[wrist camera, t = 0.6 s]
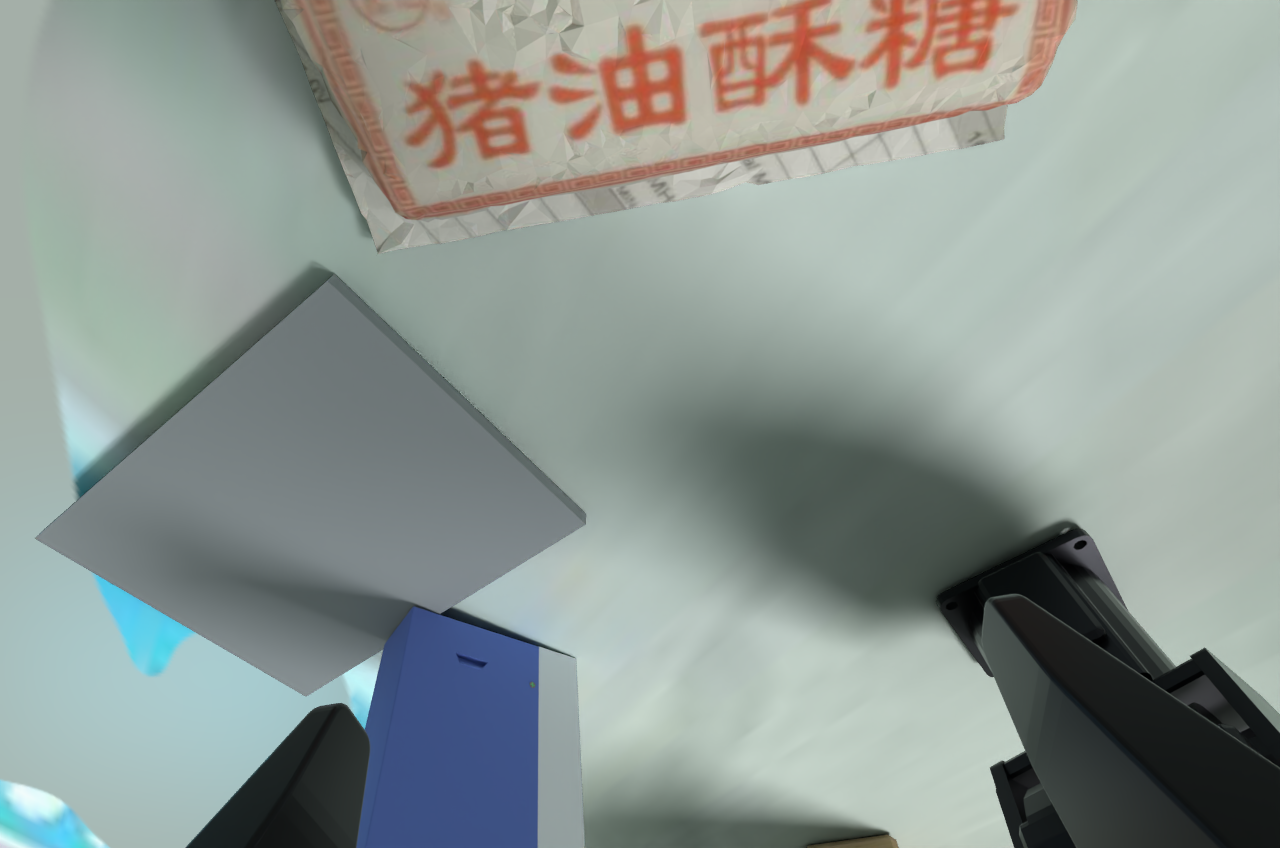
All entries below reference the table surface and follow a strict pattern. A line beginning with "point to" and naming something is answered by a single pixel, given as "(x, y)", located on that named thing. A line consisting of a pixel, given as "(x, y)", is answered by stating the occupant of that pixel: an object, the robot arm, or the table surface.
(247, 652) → the mat
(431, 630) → the walkman
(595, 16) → the packaged product
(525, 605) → the table surface
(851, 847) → the decorative block
